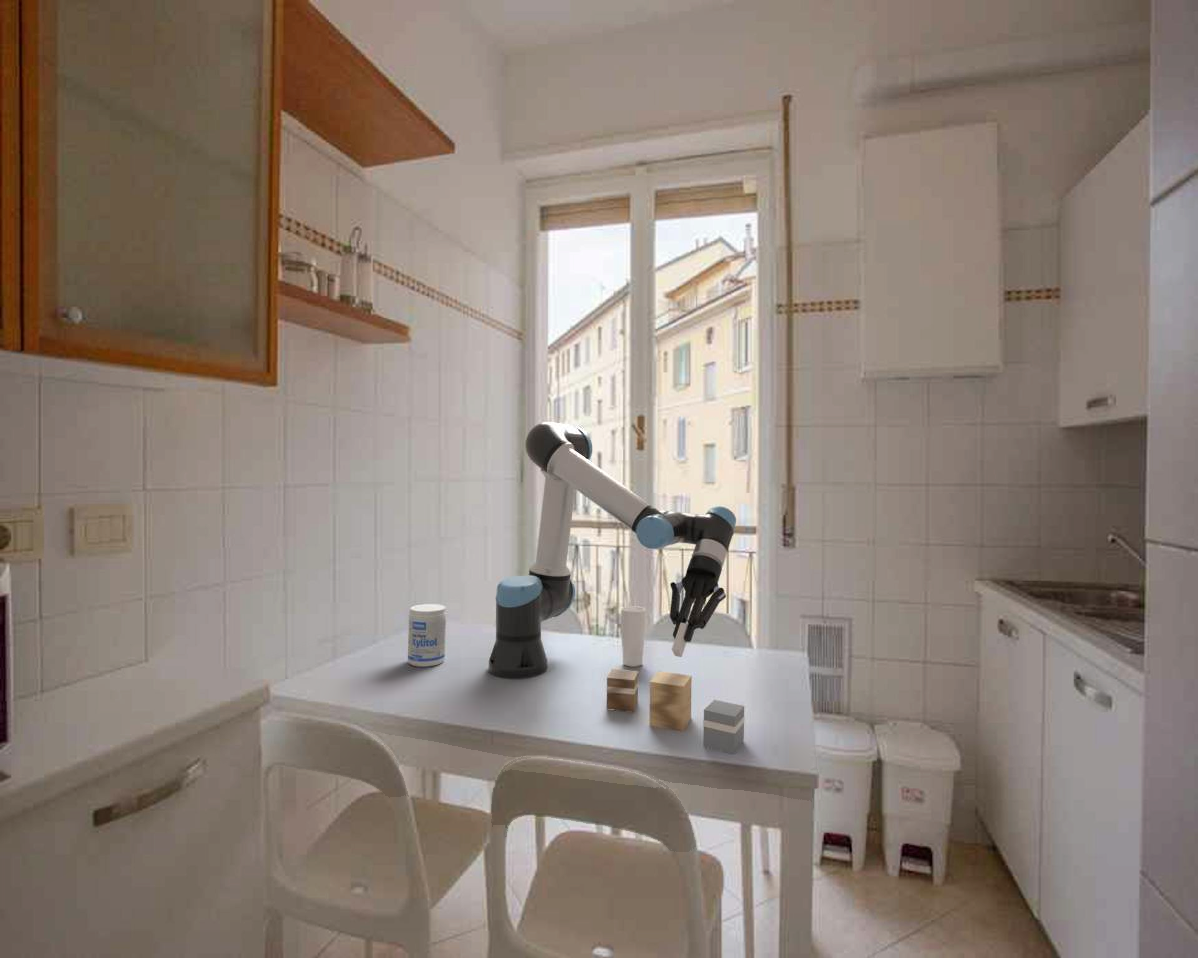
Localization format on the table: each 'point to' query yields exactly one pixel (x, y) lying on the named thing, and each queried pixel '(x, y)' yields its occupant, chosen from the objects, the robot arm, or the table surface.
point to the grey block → (723, 726)
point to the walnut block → (622, 690)
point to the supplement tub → (426, 635)
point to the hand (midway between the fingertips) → (676, 653)
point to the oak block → (670, 700)
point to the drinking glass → (633, 634)
